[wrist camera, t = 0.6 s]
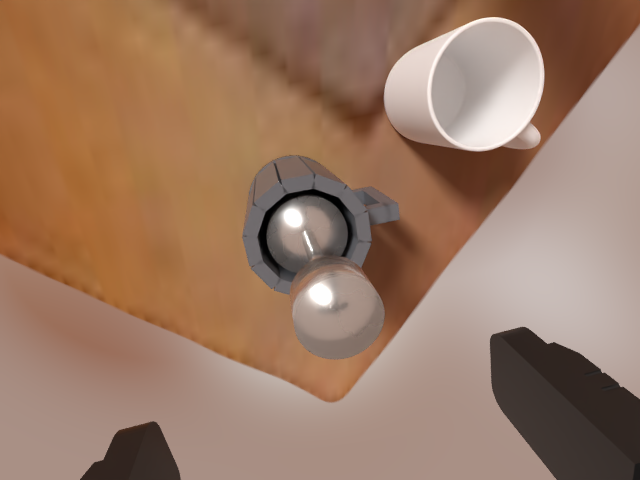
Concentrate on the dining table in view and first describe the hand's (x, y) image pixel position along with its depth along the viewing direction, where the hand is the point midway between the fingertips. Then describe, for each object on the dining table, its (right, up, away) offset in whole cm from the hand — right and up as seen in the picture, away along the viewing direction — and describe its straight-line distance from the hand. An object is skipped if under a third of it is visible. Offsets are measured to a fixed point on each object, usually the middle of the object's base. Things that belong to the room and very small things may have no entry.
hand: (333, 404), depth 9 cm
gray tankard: (-2, +8, +27) cm, 28 cm away
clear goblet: (-1, +4, +17) cm, 18 cm away
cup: (+11, +16, +27) cm, 33 cm away
